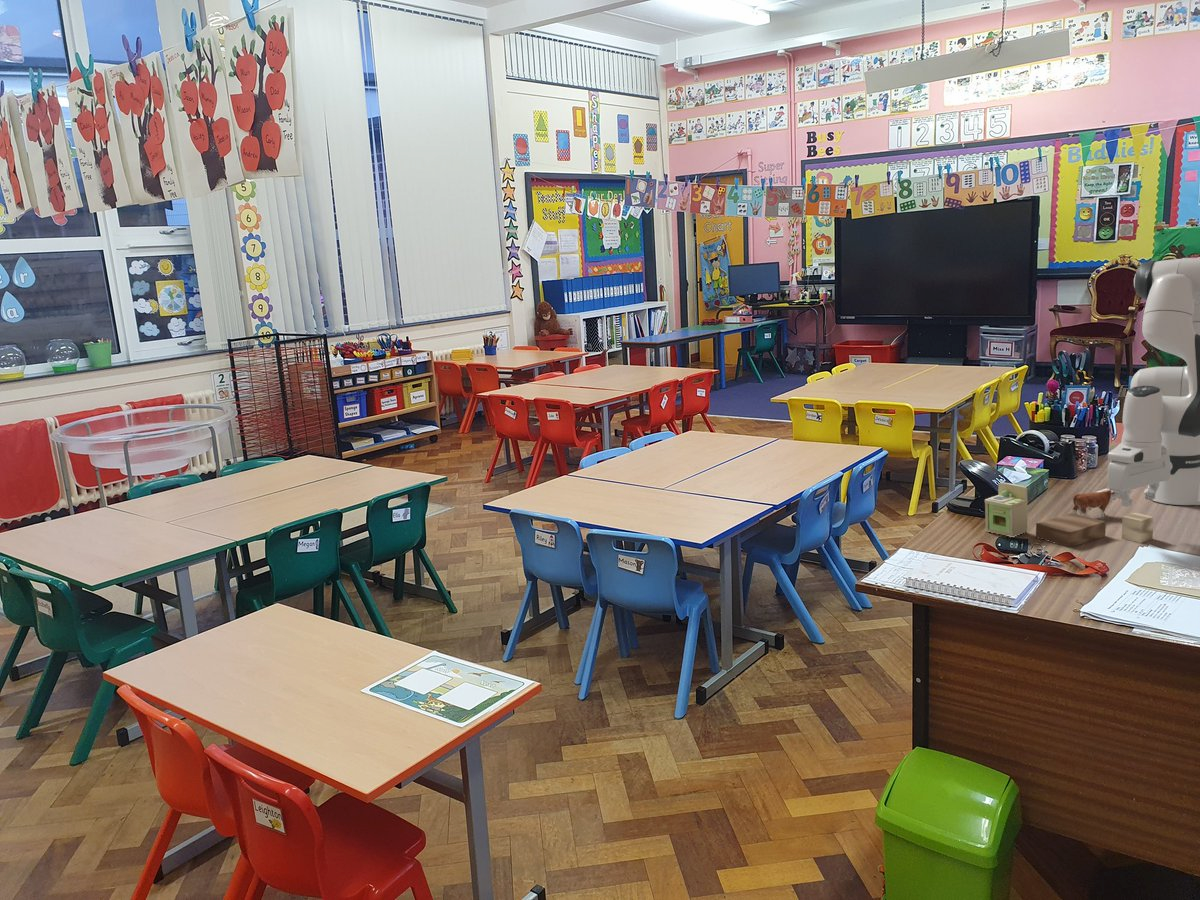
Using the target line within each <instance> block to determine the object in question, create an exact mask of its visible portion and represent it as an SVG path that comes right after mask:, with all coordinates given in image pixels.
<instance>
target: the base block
mask: <svg viewBox="0 0 1200 900" xmlns="http://www.w3.org/2000/svg"><path fill="white" fill-rule="evenodd" d="M1077 514H1078V513H1077ZM1077 514H1074V513H1067V514H1065V515H1061V516H1058V517H1053V518H1050V519H1047V520H1043V521H1039V522H1037V523H1036V524H1035V538H1036V537H1039V538H1043V539H1046V540H1049V541H1052V542H1051V543H1053V542H1055V543H1054V544H1056V543H1057V544H1058V545H1060V546H1064V547H1068V548H1071V547H1074V546H1078V545H1080V544H1085V543H1087V542H1091V541H1093V540H1097V539H1100V538H1103V537H1106V527H1107V522H1106V521H1105V520H1102V519H1101V520H1100V519H1096V518H1093V517H1090V516H1089V517H1090V518H1089V517H1085V516H1084V515H1080V514H1078V515H1077ZM1039 538H1038V539H1039ZM1046 540H1045V541H1046ZM1049 541H1048V542H1049Z"/></svg>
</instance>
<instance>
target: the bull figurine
mask: <svg viewBox="0 0 1200 900" xmlns="http://www.w3.org/2000/svg"><path fill="white" fill-rule="evenodd" d="M1117 499H1121V497H1120V495H1119V492H1117V491H1112V490H1110V489H1109V488H1103V489H1101V490H1097V491H1094V492H1093V491H1092V492H1085V493H1083V492H1082V493H1076V494H1075V495H1073V497H1072V503H1073V505H1074V506H1073V508H1072V510H1073V514H1077V515H1081V516H1085V517H1089V518H1091V517H1090V516H1089V515H1088V513H1087V509H1088V510H1089V511H1091V510H1092V509H1095V508H1098V509H1099V516H1100V517H1101V518H1105V511H1106V509H1107V507H1108V506H1109V505H1110V504H1111V503H1112V502H1113V501H1115V500H1117ZM1121 500H1122V499H1121Z"/></svg>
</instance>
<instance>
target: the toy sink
mask: <svg viewBox="0 0 1200 900" xmlns="http://www.w3.org/2000/svg"><path fill="white" fill-rule="evenodd" d="M997 487H998V490H997V491H998V492H997V493H998V494H997V495H994V496H991V497H988V498H985V499H984V508H985V509H984V512H985V513H984V515H985V517H984V519H985V521H984V523H985V532H986V533H989V532H991V533H990V534H993V533H996V534H995V535H998V534H1004V535H1010V536H1015V535H1018V534H1022V535H1024V534H1026V533H1025V532H1027V533H1028V488H1027V486H1025V485H1020V484H1015V483H1009V482H1003V481H1002V482H999V483H998V486H997ZM1023 533H1024V534H1023Z"/></svg>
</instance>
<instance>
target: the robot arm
mask: <svg viewBox="0 0 1200 900" xmlns="http://www.w3.org/2000/svg"><path fill="white" fill-rule="evenodd" d="M1133 287H1134V291H1135V294H1136V295H1137V296H1138V297H1140V299H1144V300H1145V301H1146V302H1145V305H1144V311H1143V315H1142V316H1143V317H1142V325H1141V326H1142V327H1141V328H1142V329H1141V332H1142V335H1143V338H1144V340H1145V341H1146V342H1147V343H1148V344H1150V345H1151V346H1152V347H1154V348H1156V349H1157V350H1160V351H1162V352H1164V353H1167V354H1171V355H1173V356H1176V357H1179V358H1180V359H1182V360H1184V362H1186V364H1187V365H1186V366H1152V367H1147V368H1140V369H1139V370H1137V372H1136V373H1134V375H1133V377H1132V378H1131V380H1130V384H1129V385H1130V389H1128V390H1127V392H1126V394H1125V398H1124V403H1123V408H1122V409H1123V410H1122V426H1123V433H1122V435H1121V442H1120V443H1119V444H1118V445H1116V446H1115V447H1114V448H1113V449H1111V450H1110V451H1109V452H1108V453H1107V459H1108V460H1109V464H1108V468H1107V487H1108V489H1110V490H1112V491H1117V492H1119V495H1120V497H1121V506H1122V507H1130V506H1132V504H1133V499H1132V498H1130V495H1131V491H1132V490H1134V489H1139V488H1143V487H1146V486H1147V488H1145V489H1144V492H1143V494H1144V495H1145V496H1144V498H1145V500H1148V501H1154V502H1157V503H1160V504H1167V505H1176V506H1200V257H1182V258H1175V259H1173V258H1172V259H1163V260H1158V261H1157V260H1151V261H1146V262H1143V263H1141V264H1140V266H1138V268H1137V269H1136V271H1135V274H1134V278H1133Z"/></svg>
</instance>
